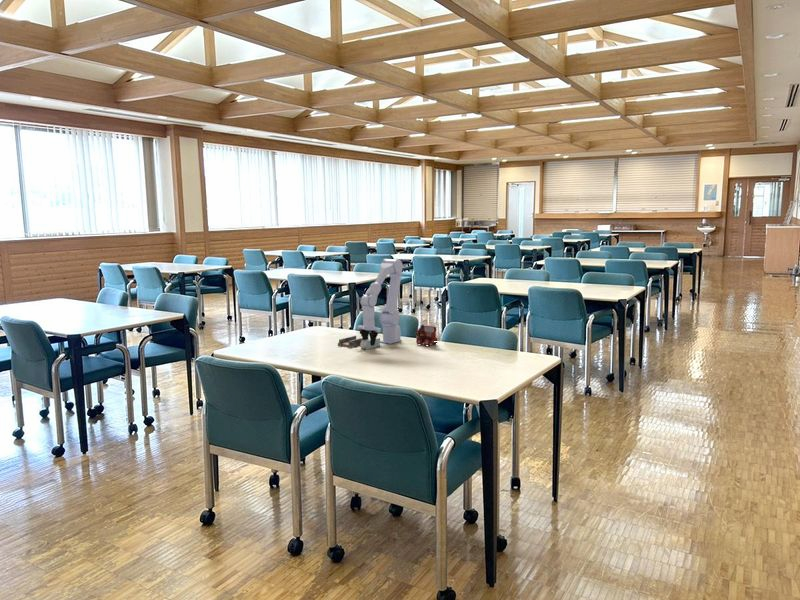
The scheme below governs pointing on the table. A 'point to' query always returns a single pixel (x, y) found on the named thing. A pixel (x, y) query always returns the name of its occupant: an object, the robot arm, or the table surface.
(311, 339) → the table surface
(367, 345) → the dome-topped blue pillar
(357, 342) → the cradle
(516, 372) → the table surface
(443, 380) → the table surface
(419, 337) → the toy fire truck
